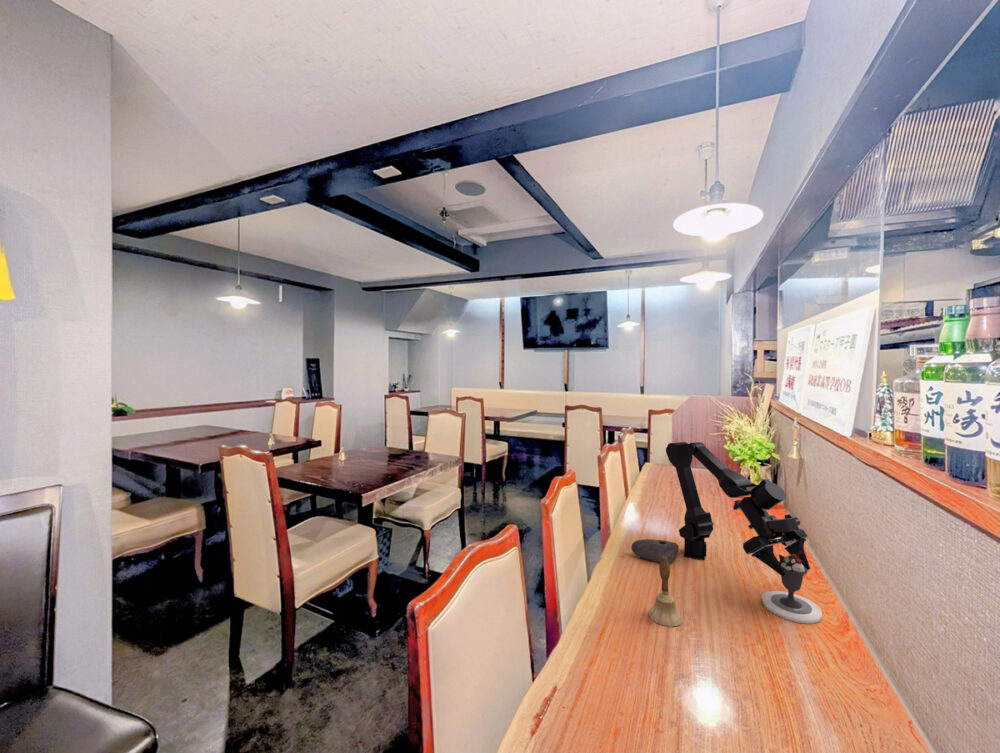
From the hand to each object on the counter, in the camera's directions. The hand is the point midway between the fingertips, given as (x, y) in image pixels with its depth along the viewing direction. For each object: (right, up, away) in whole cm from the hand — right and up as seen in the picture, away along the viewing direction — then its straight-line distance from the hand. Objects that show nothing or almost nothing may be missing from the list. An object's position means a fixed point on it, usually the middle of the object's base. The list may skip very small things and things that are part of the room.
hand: (796, 572), depth 107 cm
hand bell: (-36, -11, -2) cm, 37 cm away
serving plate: (0, -10, +2) cm, 11 cm away
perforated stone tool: (-27, -10, +30) cm, 41 cm away
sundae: (0, -9, +2) cm, 9 cm away
